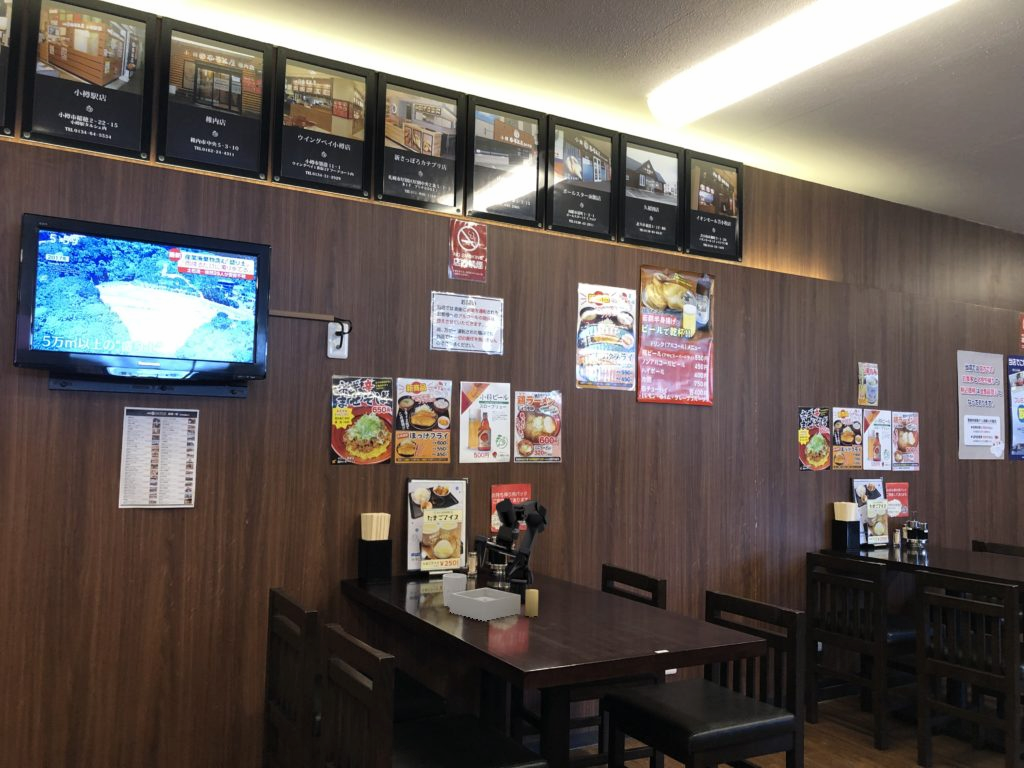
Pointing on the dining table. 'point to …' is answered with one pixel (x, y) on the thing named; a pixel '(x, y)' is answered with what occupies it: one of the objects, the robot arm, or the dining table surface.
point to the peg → (531, 603)
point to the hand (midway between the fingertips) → (494, 570)
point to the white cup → (452, 585)
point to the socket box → (485, 603)
